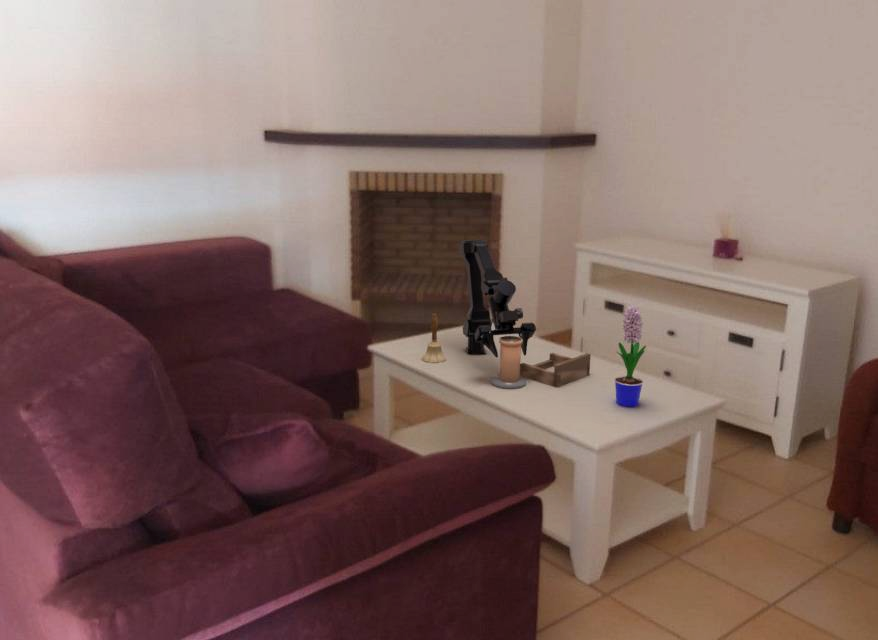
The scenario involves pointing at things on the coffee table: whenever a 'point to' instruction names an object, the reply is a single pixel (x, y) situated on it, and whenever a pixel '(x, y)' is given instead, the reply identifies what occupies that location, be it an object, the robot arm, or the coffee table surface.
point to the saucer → (506, 385)
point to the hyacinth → (630, 361)
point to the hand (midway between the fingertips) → (511, 356)
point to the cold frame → (558, 369)
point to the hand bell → (434, 345)
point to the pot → (510, 358)
